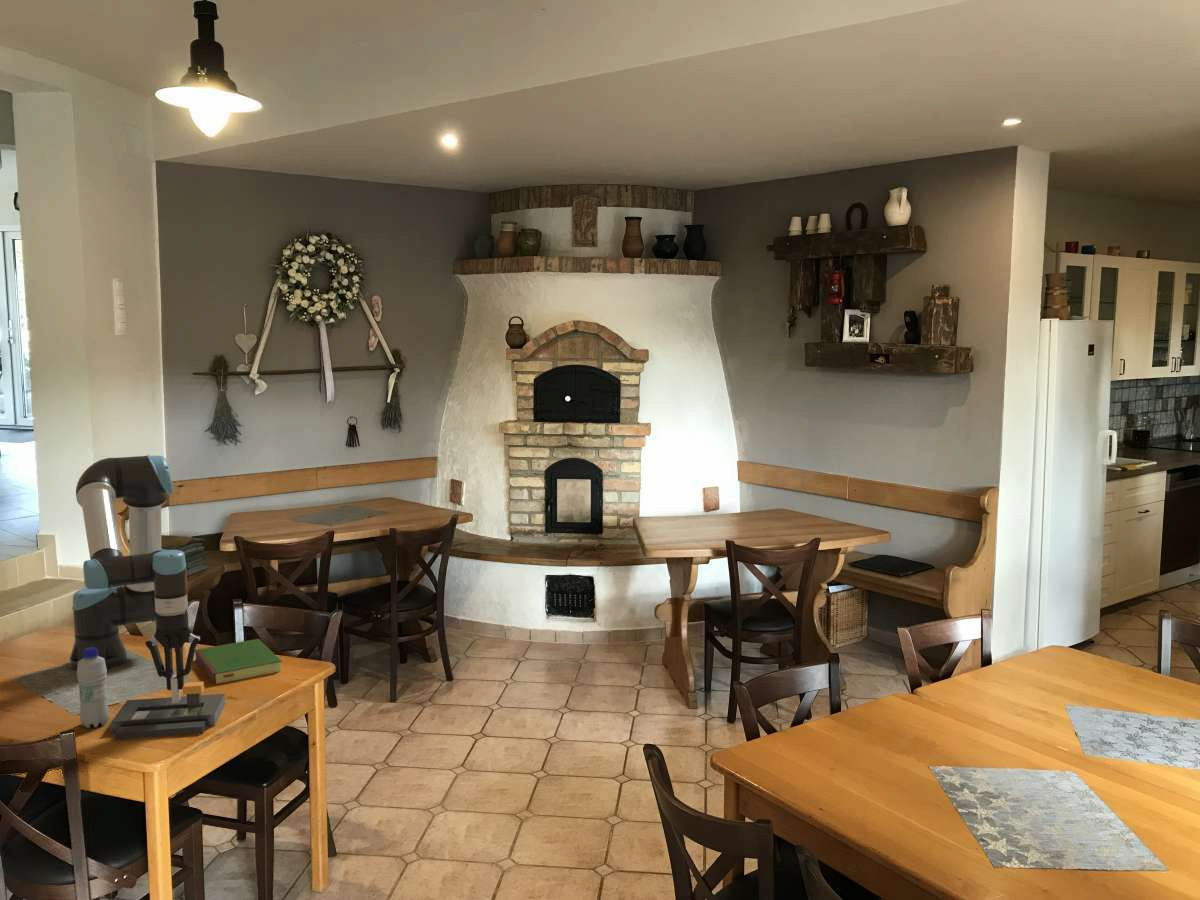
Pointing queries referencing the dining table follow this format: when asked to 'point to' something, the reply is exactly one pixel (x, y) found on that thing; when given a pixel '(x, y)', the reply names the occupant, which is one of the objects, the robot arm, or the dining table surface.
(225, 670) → the hardcover book
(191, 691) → the toggle
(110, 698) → the dining table surface
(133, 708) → the panel
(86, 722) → the bottle
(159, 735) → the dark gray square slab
